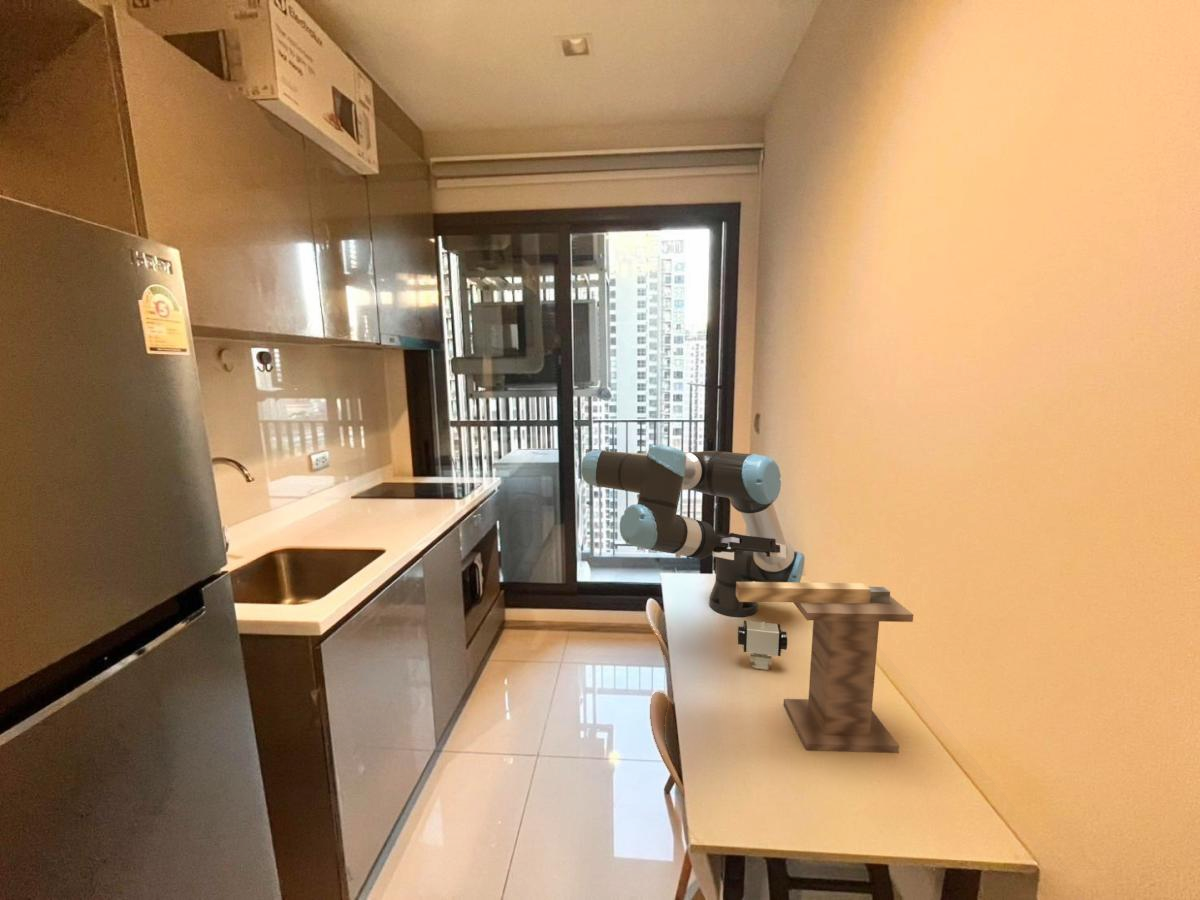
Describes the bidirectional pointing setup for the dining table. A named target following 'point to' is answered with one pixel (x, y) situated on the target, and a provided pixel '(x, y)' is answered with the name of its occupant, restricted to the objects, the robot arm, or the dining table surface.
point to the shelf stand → (844, 678)
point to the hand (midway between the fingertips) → (757, 553)
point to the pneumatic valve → (762, 642)
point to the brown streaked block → (810, 592)
